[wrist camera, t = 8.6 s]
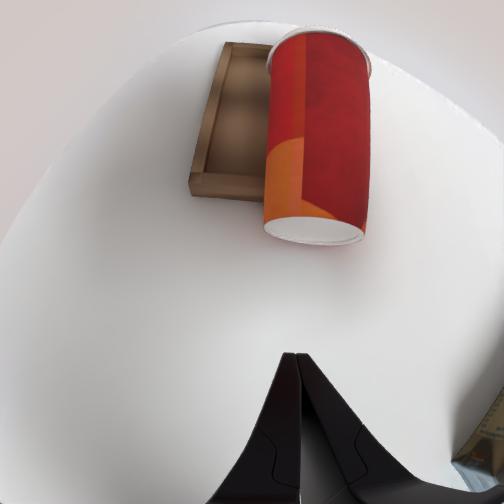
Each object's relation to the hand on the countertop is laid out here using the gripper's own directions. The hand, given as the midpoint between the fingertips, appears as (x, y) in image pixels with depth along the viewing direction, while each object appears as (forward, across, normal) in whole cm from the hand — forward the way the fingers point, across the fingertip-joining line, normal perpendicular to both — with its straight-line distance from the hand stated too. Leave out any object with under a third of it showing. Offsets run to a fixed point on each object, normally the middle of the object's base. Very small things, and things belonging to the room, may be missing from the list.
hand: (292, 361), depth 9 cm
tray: (+18, 0, -8) cm, 20 cm away
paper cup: (+8, -2, -1) cm, 8 cm away
